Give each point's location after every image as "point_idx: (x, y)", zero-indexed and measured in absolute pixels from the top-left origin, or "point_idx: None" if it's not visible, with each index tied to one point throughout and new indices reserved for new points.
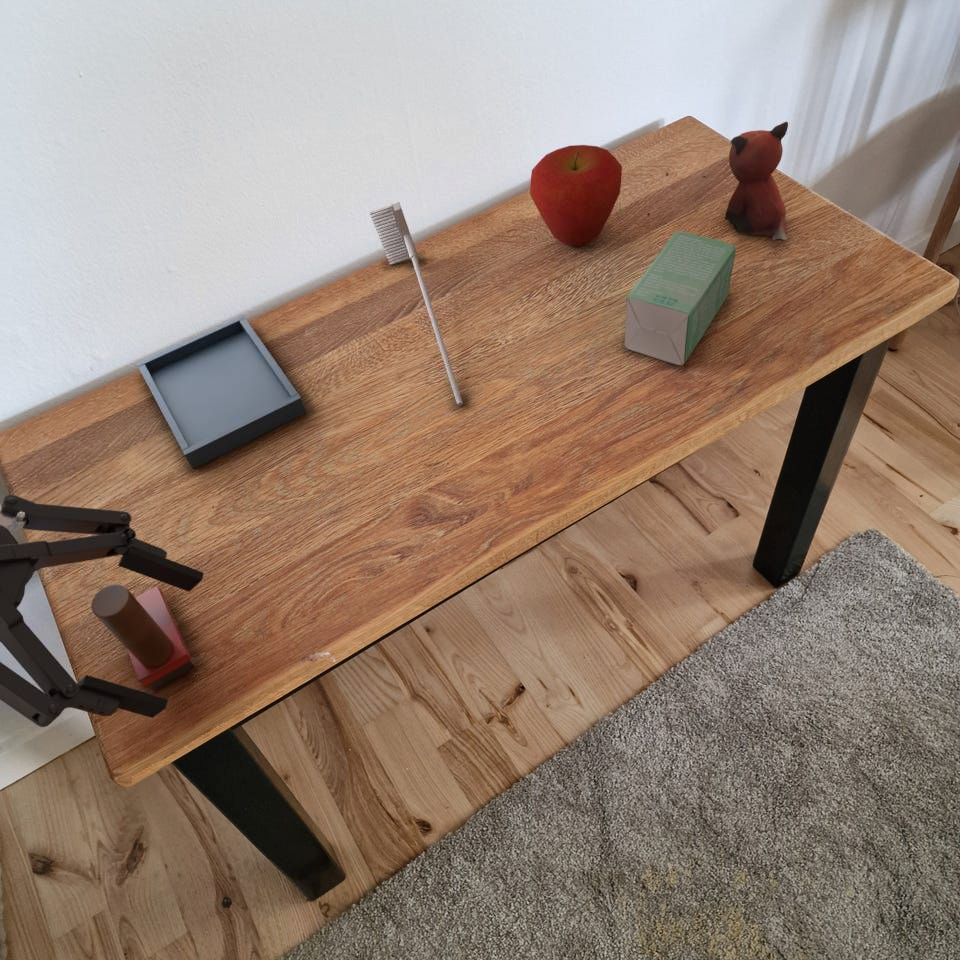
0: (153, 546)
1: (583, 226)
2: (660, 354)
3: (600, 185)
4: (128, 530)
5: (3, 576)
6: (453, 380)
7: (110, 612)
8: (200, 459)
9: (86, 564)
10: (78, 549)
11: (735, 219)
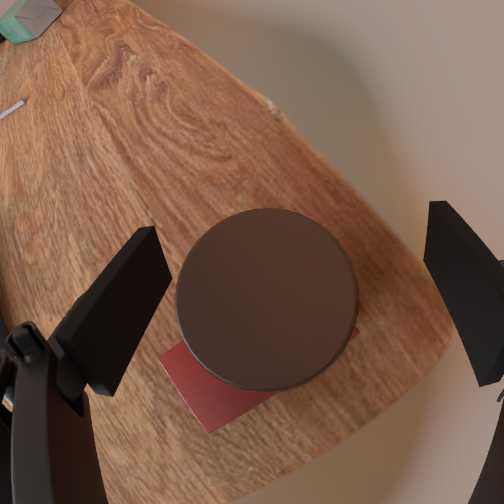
0: (69, 311)
1: None
2: (51, 18)
3: None
4: (15, 343)
5: None
6: (5, 111)
7: (330, 270)
8: (4, 345)
9: (131, 487)
10: (42, 473)
11: (2, 37)
